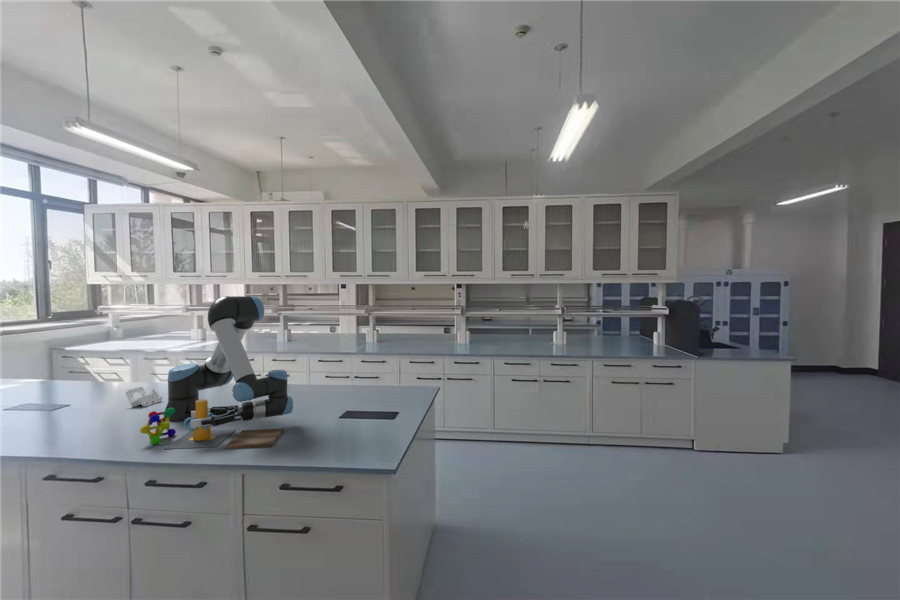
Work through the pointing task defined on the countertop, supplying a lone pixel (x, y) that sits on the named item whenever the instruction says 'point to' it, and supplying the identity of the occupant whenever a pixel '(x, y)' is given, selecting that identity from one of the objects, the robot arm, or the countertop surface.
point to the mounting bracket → (143, 397)
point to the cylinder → (201, 412)
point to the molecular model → (161, 424)
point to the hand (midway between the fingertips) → (190, 419)
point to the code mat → (188, 441)
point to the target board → (255, 438)
